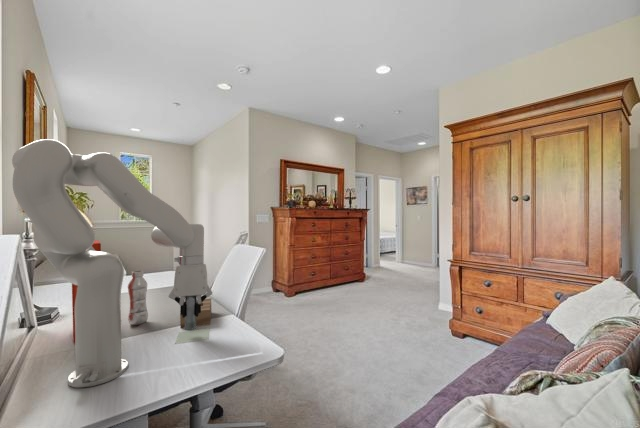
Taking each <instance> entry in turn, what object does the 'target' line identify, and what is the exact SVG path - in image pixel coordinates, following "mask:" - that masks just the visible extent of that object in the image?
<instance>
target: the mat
mask: <svg viewBox="0 0 640 428" xmlns="http://www.w3.org/2000/svg"><path fill="white" fill-rule="evenodd" d="M210 332H211V331H210V328H202V329H201V328H199V329H194V330H185V331H179V332H178V334H177V337H176V339H175V342H174V345H178V344H184V343H194V342H200V341H207V340H209V339H210V338H209V337H210Z"/></svg>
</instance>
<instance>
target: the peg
mask: <svg viewBox="0 0 640 428" xmlns="http://www.w3.org/2000/svg"><path fill="white" fill-rule="evenodd" d="M184 302H185V328H184V330H185V331H192V330H197V326H196V304H197V296H185V301H184Z"/></svg>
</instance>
